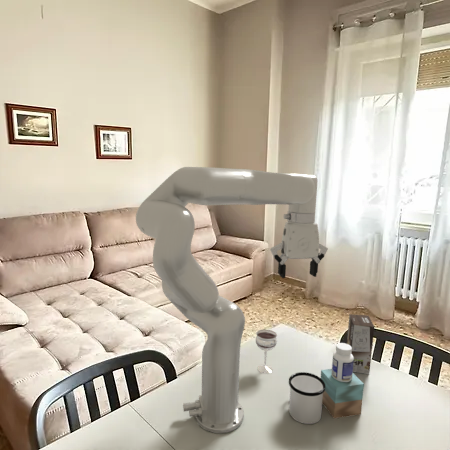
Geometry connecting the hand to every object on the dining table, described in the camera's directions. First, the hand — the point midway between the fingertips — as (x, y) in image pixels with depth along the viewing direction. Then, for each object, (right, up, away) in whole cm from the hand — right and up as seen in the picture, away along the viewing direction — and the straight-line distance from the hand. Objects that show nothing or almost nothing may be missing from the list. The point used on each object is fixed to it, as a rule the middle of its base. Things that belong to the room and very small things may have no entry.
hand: (297, 276), depth 102 cm
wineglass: (-8, -32, +10) cm, 34 cm away
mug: (0, -35, -8) cm, 36 cm away
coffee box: (+23, -32, +14) cm, 42 cm away
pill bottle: (+10, -26, -8) cm, 29 cm away
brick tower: (+10, -35, -6) cm, 37 cm away
